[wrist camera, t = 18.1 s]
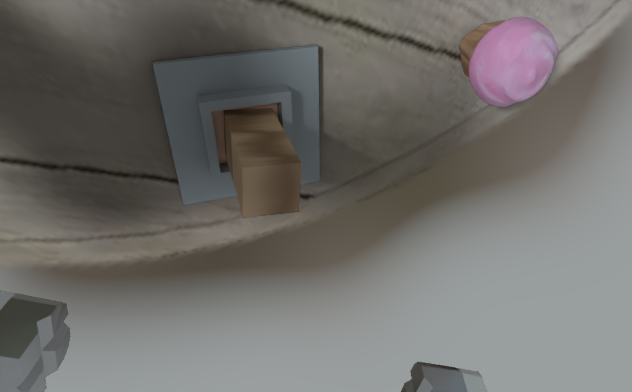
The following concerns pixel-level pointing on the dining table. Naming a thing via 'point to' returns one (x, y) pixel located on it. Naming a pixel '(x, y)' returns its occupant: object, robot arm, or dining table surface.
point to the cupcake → (508, 59)
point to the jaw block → (261, 162)
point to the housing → (234, 94)
